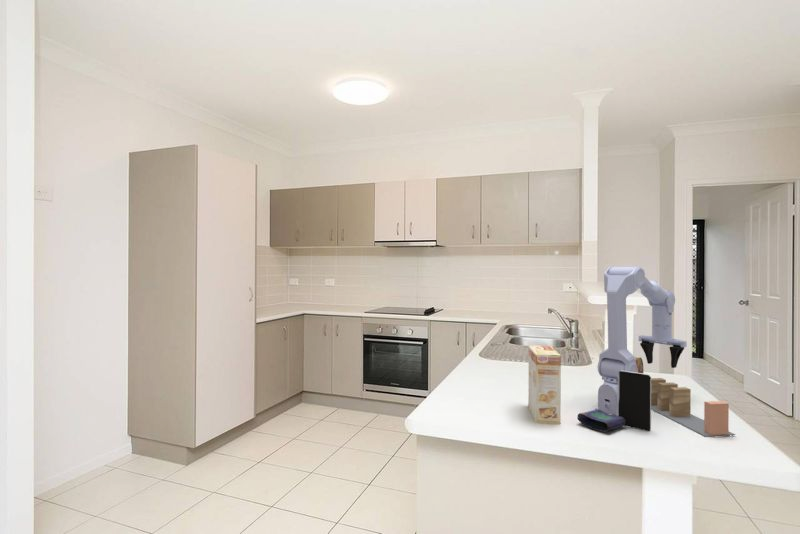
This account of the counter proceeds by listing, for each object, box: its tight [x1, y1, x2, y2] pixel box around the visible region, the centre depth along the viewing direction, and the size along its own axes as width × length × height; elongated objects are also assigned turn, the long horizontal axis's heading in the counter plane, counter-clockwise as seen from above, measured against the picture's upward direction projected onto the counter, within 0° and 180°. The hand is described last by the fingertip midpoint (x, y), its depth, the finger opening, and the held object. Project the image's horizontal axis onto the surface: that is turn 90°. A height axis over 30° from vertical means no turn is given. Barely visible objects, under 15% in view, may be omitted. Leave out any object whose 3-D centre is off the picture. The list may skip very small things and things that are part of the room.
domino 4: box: [703, 400, 730, 435], centre depth 113 cm, size 2×5×8 cm, turn 94°
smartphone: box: [618, 370, 652, 432], centre depth 118 cm, size 8×1×15 cm, turn 49°
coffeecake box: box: [527, 344, 562, 425], centre depth 128 cm, size 15×7×20 cm, turn 171°
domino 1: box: [651, 377, 667, 406], centre depth 137 cm, size 2×5×8 cm, turn 94°
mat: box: [651, 405, 737, 438], centre depth 129 cm, size 34×8×1 cm, turn 4°
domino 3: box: [669, 386, 692, 417], centre depth 126 cm, size 2×5×8 cm, turn 95°
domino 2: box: [657, 381, 679, 411], centre depth 131 cm, size 2×5×8 cm, turn 95°
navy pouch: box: [576, 409, 626, 433], centre depth 119 cm, size 9×3×11 cm
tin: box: [635, 357, 644, 374], centre depth 167 cm, size 15×3×8 cm, turn 139°
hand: (661, 365), depth 148 cm, fingers open, 7 cm apart
